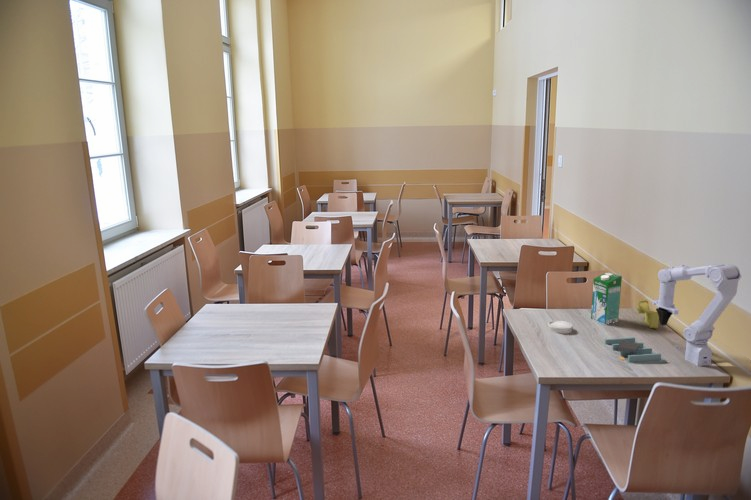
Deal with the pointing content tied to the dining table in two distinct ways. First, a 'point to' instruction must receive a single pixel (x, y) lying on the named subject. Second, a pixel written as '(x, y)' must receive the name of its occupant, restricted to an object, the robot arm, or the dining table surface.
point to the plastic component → (648, 314)
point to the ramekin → (560, 327)
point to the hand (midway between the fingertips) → (663, 324)
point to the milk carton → (606, 298)
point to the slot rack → (642, 353)
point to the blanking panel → (628, 347)
